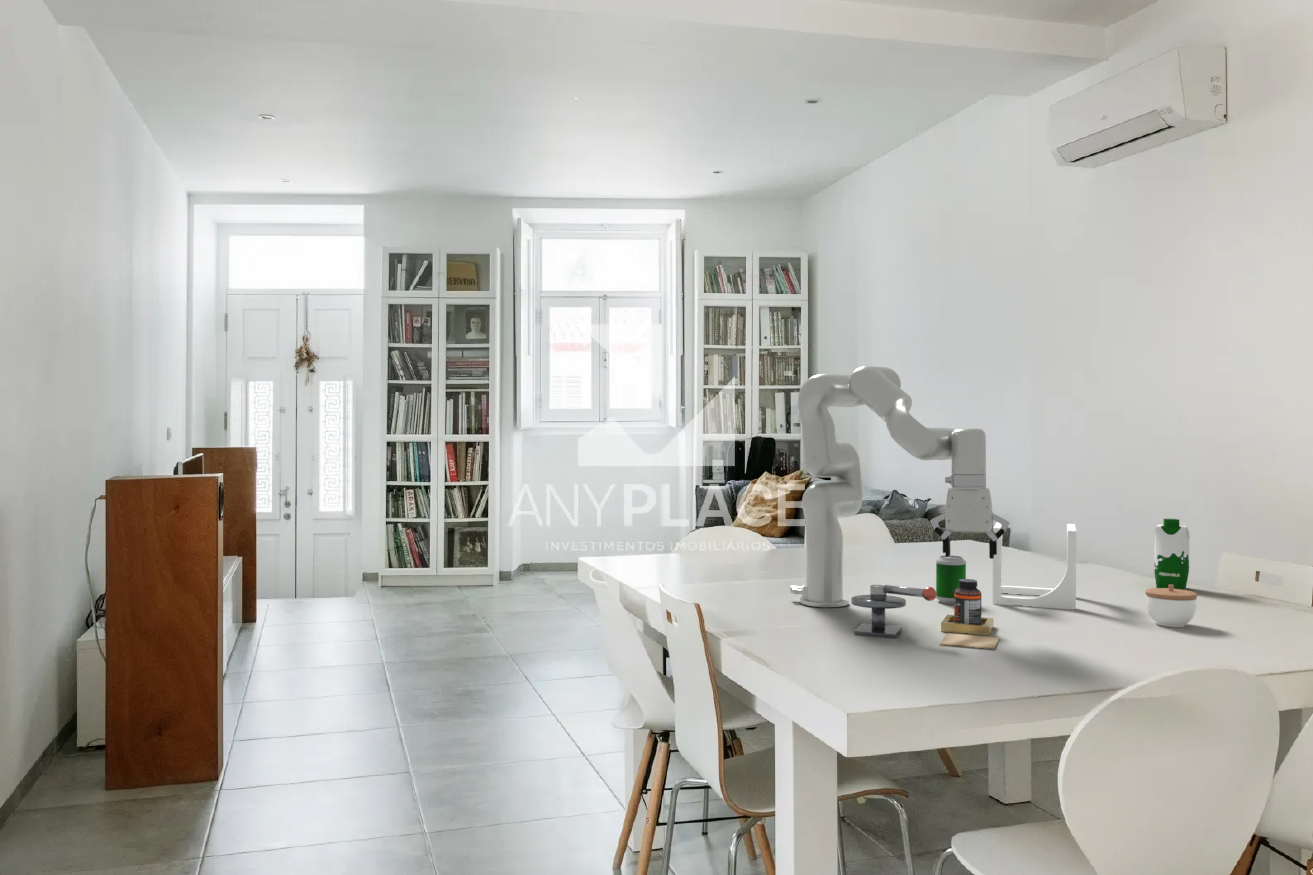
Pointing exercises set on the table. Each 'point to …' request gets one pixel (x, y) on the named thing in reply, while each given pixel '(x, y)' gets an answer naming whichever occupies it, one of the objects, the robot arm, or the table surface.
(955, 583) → the soda can
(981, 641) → the cork mat
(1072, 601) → the bookend
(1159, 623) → the lidded jar
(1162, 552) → the milk carton
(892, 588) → the handwheel
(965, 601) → the supplement bottle
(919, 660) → the table surface
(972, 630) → the square wooden frame
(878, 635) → the grey pedestal base
